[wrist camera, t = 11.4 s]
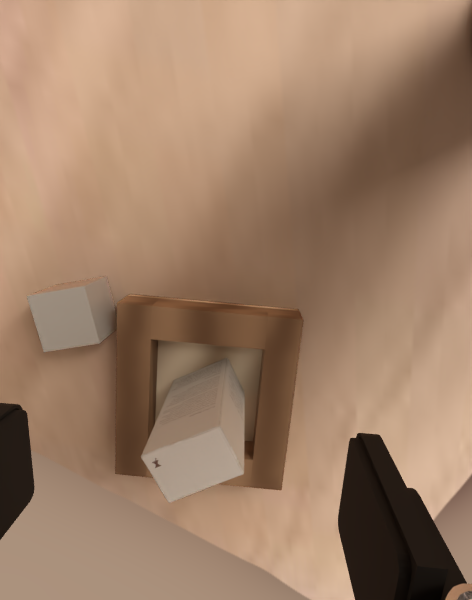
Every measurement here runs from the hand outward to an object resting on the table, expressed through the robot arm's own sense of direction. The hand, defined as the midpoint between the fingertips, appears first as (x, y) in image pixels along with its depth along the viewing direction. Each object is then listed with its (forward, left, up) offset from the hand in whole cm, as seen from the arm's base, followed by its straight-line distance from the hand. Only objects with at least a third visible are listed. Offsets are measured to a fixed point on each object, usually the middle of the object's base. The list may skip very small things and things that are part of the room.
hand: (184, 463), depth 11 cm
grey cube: (+14, +3, -25) cm, 29 cm away
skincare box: (+1, +10, -25) cm, 27 cm away
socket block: (+2, +10, -25) cm, 27 cm away
